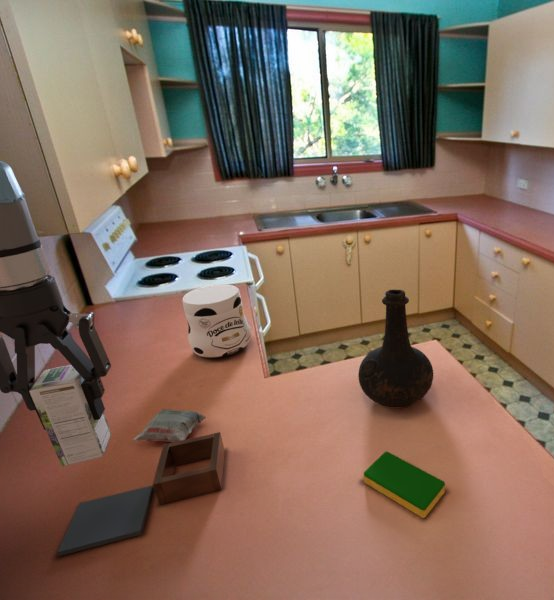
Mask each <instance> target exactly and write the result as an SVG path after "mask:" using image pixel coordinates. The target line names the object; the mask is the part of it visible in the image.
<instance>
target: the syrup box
mask: <svg viewBox="0 0 554 600" xmlns="http://www.w3.org/2000/svg"><path fill="white" fill-rule="evenodd" d="M83 381H84V379H83V378H82V377H81V375H80V374H79V373H78V372H77V371H76V370H75V369H74V367H73V366H72V365H71V364H68V365H62V366H57V367H52V368H48V369H45V370H43V371H42V373H41V374H40V376H39V377H38V378H37V381H36V382H35V384H34V385H33V387H32V388H31V390H30V391H29V392H30V395H31V397H32V399H33V401H34V404H35V406H36V408H37V411H38V413H39V415H40V418H41V420H42V422H43V424H44V427H45V429H46V430H45V431H46V434H47V436H48V439H49V440H50V442H51V445H52V447H53V450H54V452H55V455H56V457H57V459H58V461H59V464H60V466H61V467H67V466H71V465H76V464H79V463H84V462H87V461H91V460H94V459H95V460H96V459H99V458H102V457H104V456H105V453H106V450H107V447H108V444H109V443H110V440H111V436H112V431H111V429H110V426H109V423H108V421H107V417H106V415H105V411H104V412H103V414H102V416H101V418H100V419H99V420H94V418H93V416H92V413H91V410H90V408H89V405H88V403H87V400H86V398H85V395H84V392H83V390H82V387H81V384H82V383H83Z"/></svg>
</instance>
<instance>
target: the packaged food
mask: <svg viewBox="0 0 554 600" xmlns="http://www.w3.org/2000/svg"><path fill="white" fill-rule="evenodd" d="M205 419H206V416H205V415H203V414H201V413H199V412H198V411H195V410H175V409H170V408H169V409H168V408H167V409H166V408H162V409H161V410H160V411H159V412H158V413H156V414H155V415H154V416H153V418H151V420H150V421H149V423H147V425H146V426H145V428H144V429H143V430H142V431H141V432H140V433H139V434H137V435H136V436H135V437H134V438H133V442H137V441H145V442H167V443H172V442H177V441H182V440H186V439H188V437H189V435H190V434H191V433H192V431H193V430H195V428H196V427H198V425H199V424H201V422H203V421H204V420H205Z"/></svg>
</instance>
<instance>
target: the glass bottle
mask: <svg viewBox="0 0 554 600" xmlns="http://www.w3.org/2000/svg"><path fill="white" fill-rule="evenodd" d="M384 295H385V296H384V297H383V298H382V299H381V303H382V304H383V305H385V325H384V336H383V341H382V345H381V346H379V347H377V348H375V349H373V350H371V351H370V352H369V353H367V354H366V356H364V357H363V359H362V360H361V363H360V365H359V369H358V377H357V378H358V383H359V386H360V389H361V390H362V392H363V393H364V394H365V396H367V397H368V399H370V400H371V401H372V402H373V403H375V404H378V405H380V406H382V407H386V408H391V409H402V408H403V409H404V408H407V407H411V406H413V405H414V404H417V403H418V402H419V401H421V400H422V399H424V397H425V396H426V395H427V394H428V392H429V391H430V389H431V388H432V385H433V381H434V369H433V365H432V363H431V361H430V359H429V358H428V356H427V355H426V354H425V353H424V352H423V351H421V350H420V349H418V348H416V347H414V346H412V345H411V342H410V341H411V340H410V336H409V331H408V329H409V328H408V321H407V320H408V319H407V308H406V305H407V304H408V303H409V302H410V299H409V297H408V296H407V295H406V291H405V290H403V289H388V290H386V291H385V292H384Z"/></svg>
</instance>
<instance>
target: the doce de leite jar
mask: <svg viewBox="0 0 554 600" xmlns="http://www.w3.org/2000/svg"><path fill="white" fill-rule="evenodd" d="M181 300H182V301H181V302H182V308H183V310H184V316H185V318H186V322H187V327H188V333H187V339H188V345H189V347H190V348H191V350H192V352H193V353H194V354H195V355H196V356H198V357H201V358H203V359H221V358H225V357H228V356H232V355H234V354H236V353H239V352H240V351H242V350H243V349H245V348H247V346H248V345H249V343H250V342H251V338H252V330H251V329H252V328H251V325H250V323H249V321H248V318H247V317H246V315H245V310H244V305H243V304H244V303H243V301H242V295H241V291H240V289H239V288H238V287H237V286H236V285H233V284H226V283H219V284H218V283H217V284H211V285H205V286H201V287H198V288H194V289H192V290H190V291H188V292H187V293H186V294H184V295H183V297H182V299H181Z"/></svg>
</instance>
